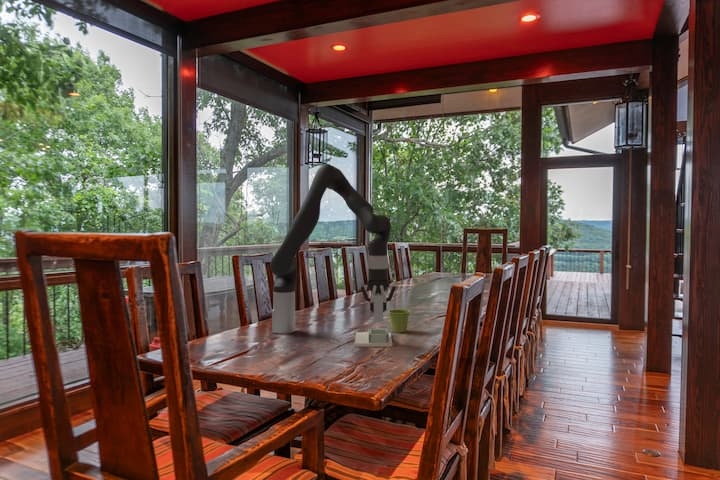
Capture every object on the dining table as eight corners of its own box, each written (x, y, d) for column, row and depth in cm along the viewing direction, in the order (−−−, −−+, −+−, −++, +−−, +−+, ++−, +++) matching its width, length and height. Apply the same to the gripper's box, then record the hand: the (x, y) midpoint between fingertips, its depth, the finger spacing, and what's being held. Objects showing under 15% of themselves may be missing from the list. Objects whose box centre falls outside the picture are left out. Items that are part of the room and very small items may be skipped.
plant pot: (385, 333, 192) (385, 312, 192) (392, 328, 201) (392, 308, 201) (406, 334, 189) (406, 313, 189) (412, 330, 198) (412, 310, 197)
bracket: (373, 321, 173) (373, 295, 173) (373, 318, 179) (373, 293, 179) (383, 321, 173) (382, 295, 173) (382, 318, 179) (382, 293, 179)
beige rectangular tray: (354, 346, 171) (354, 335, 170) (356, 335, 189) (356, 325, 188) (392, 346, 170) (392, 335, 170) (390, 335, 188) (390, 325, 188)
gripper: (359, 268, 172) (359, 314, 173) (397, 268, 172) (397, 313, 172) (359, 266, 180) (360, 310, 180) (396, 266, 179) (396, 310, 180)
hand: (378, 311), depth 176 cm, fingers closed on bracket, 3 cm apart
